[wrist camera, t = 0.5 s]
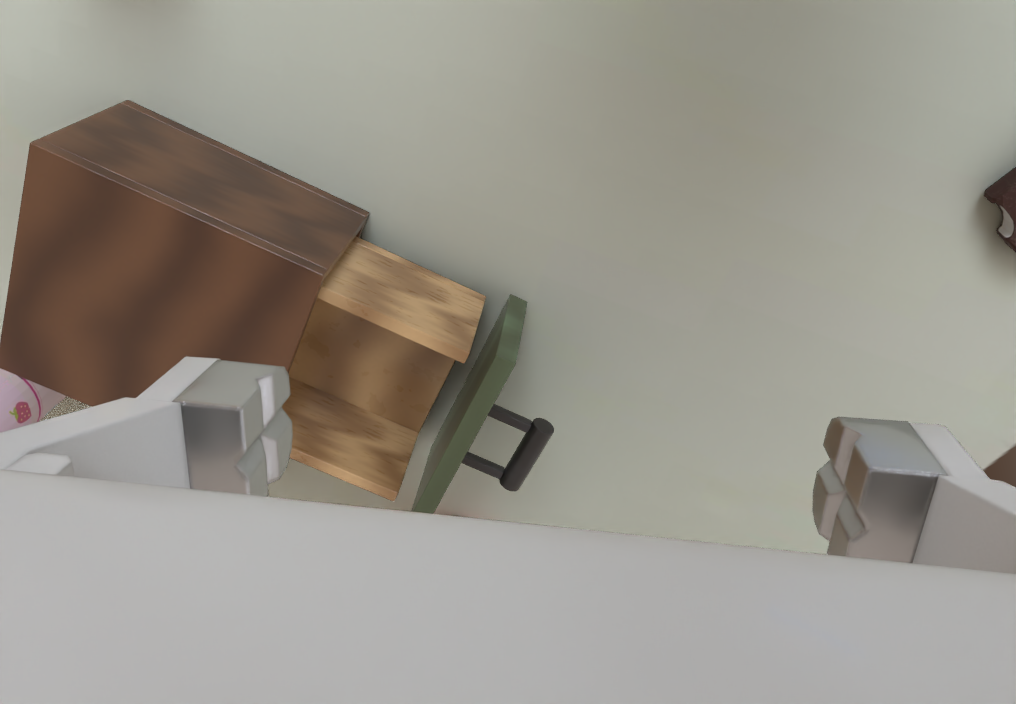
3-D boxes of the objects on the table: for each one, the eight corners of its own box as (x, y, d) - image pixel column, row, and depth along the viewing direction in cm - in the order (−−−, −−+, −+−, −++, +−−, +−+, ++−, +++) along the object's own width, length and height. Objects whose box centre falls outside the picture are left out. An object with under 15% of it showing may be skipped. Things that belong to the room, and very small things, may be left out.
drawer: (588, 329, 52) (586, 395, 45) (501, 476, 59) (488, 553, 52) (312, 202, 50) (266, 251, 43) (254, 369, 56) (206, 435, 50)
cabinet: (369, 212, 51) (323, 275, 42) (300, 388, 58) (249, 472, 50) (127, 99, 49) (29, 142, 41) (86, 296, 56) (-5, 367, 48)
